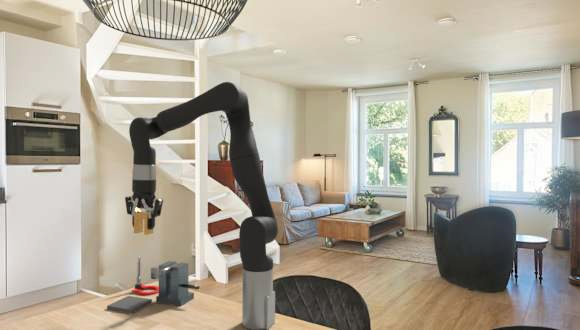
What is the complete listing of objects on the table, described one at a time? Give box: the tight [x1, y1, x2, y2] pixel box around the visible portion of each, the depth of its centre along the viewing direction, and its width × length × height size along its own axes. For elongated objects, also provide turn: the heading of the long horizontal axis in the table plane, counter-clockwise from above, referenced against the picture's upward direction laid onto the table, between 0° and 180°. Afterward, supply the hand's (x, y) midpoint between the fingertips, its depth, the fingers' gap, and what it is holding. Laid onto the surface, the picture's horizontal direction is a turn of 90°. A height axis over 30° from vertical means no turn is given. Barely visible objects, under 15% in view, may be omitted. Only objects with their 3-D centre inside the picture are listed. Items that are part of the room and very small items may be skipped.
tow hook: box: [131, 256, 159, 296], centre depth 152 cm, size 8×13×9 cm
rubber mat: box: [106, 295, 153, 314], centre depth 138 cm, size 10×10×1 cm
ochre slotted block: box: [133, 210, 154, 236], centre depth 137 cm, size 5×3×7 cm, turn 70°
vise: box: [150, 260, 200, 307], centre depth 139 cm, size 15×16×14 cm
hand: (143, 228), depth 137 cm, fingers closed on ochre slotted block, 5 cm apart
